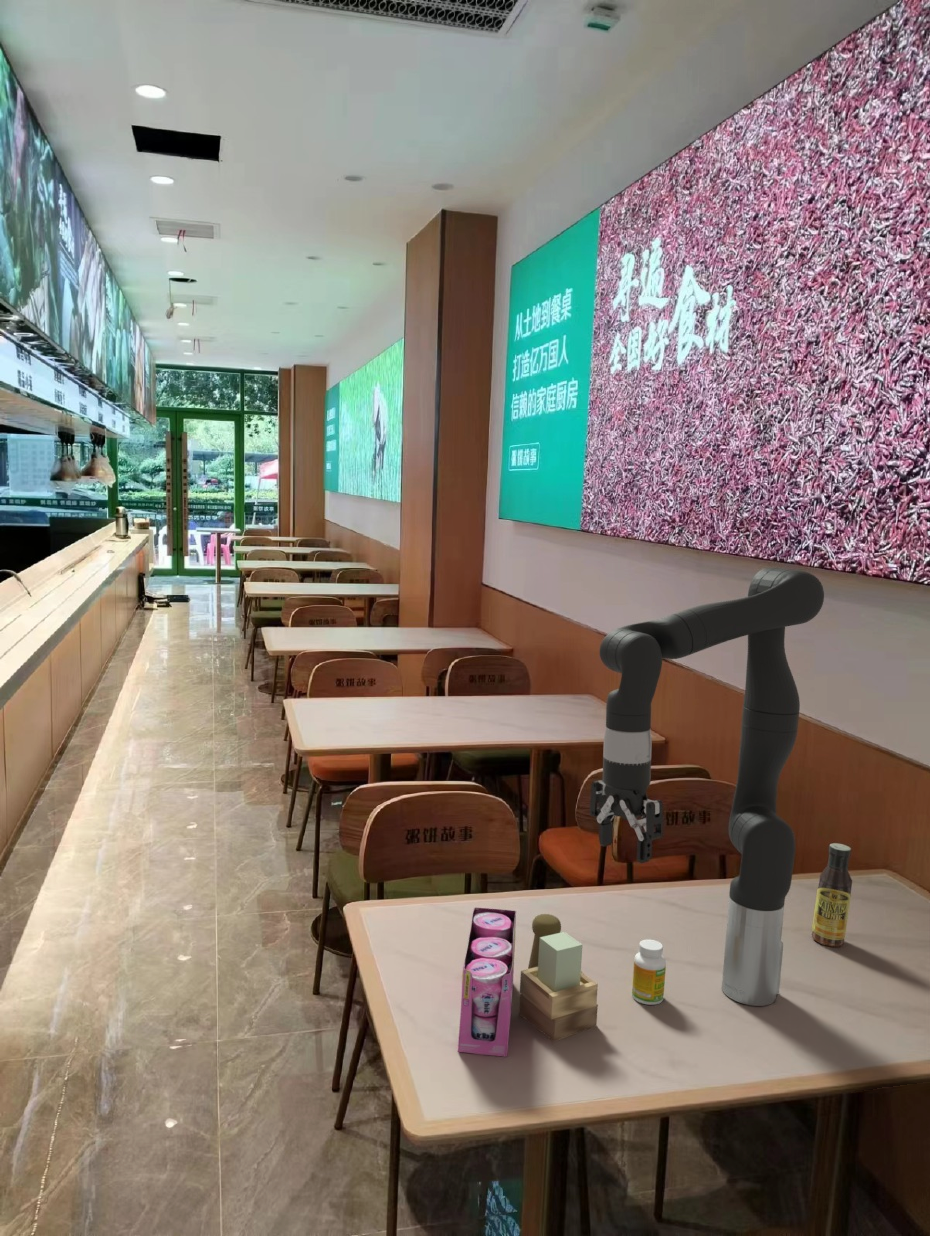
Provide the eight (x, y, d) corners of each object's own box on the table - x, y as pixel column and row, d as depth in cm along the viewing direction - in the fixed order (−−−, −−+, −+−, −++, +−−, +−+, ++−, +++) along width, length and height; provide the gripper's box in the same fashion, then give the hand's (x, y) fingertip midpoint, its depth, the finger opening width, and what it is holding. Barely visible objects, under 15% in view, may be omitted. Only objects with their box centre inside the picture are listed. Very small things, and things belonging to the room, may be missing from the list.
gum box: (507, 1063, 138) (512, 978, 136) (455, 1058, 139) (459, 974, 137) (513, 982, 162) (517, 909, 160) (469, 979, 162) (472, 906, 161)
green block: (562, 971, 153) (564, 931, 152) (579, 985, 149) (582, 944, 148) (537, 977, 150) (539, 937, 150) (554, 992, 146) (557, 950, 145)
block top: (563, 980, 156) (564, 959, 155) (596, 1006, 148) (597, 984, 148) (519, 992, 151) (520, 970, 151) (551, 1019, 144) (552, 996, 143)
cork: (558, 986, 161) (562, 926, 160) (524, 981, 162) (528, 922, 161) (562, 969, 167) (565, 912, 166) (529, 964, 168) (532, 908, 167)
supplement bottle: (656, 1009, 155) (660, 955, 154) (627, 999, 158) (630, 946, 156) (667, 995, 159) (671, 943, 158) (638, 986, 162) (642, 934, 161)
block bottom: (560, 1002, 156) (561, 980, 156) (596, 1027, 149) (597, 1004, 149) (519, 1016, 151) (520, 993, 151) (554, 1044, 144) (555, 1020, 144)
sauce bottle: (810, 944, 181) (819, 848, 179) (811, 931, 187) (820, 838, 185) (846, 951, 179) (855, 854, 177) (845, 938, 185) (855, 843, 182)
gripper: (677, 762, 141) (673, 863, 143) (613, 742, 153) (610, 835, 155) (642, 769, 137) (638, 873, 139) (579, 748, 148) (577, 844, 150)
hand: (624, 853), depth 147 cm, fingers open, 8 cm apart
